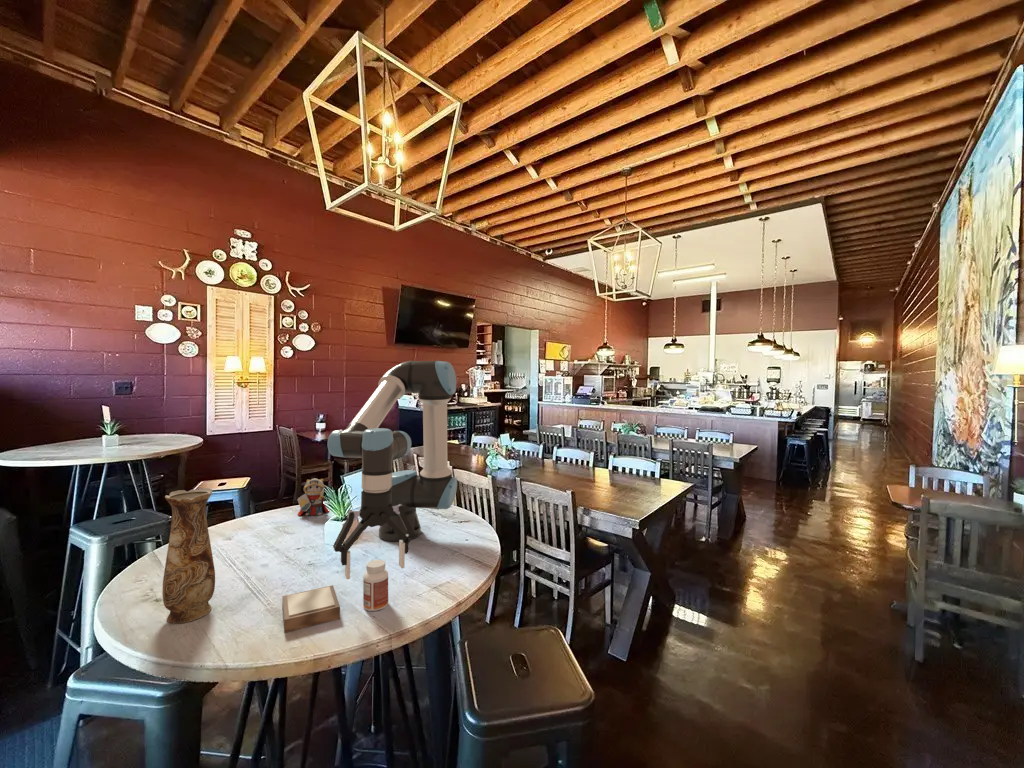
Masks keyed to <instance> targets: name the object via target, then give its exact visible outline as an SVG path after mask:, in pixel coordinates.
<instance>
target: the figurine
mask: <svg viewBox="0 0 1024 768" xmlns="http://www.w3.org/2000/svg"><path fill="white" fill-rule="evenodd" d="M324 487H325V488H326V485H325V484H324V479H323V478H320V479H318V478H315V477H314V478H311V479H306V482H305V485H304V486H303V492H304V493H303V494H302V495H301V496H300V497H298V498H297V502H298V505H299V507H300V510H299V511H298V513H297V516H298V517H301V516H302V515H303V514H304V515H305V516H309V515H310V516H316V515H317V516H322V515H323V514H324V512H325V514H327V513H330V510H329V509H328V508H327V507H326V504H325V505H324V504H323V501H324V500H325V496H324V493H325V491H324ZM328 510H329V511H328ZM323 511H324V512H323Z"/></svg>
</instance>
